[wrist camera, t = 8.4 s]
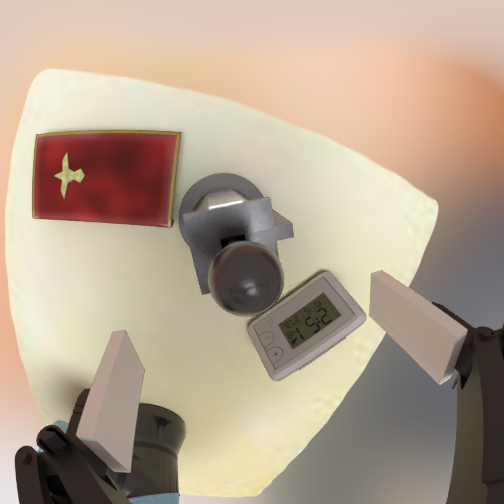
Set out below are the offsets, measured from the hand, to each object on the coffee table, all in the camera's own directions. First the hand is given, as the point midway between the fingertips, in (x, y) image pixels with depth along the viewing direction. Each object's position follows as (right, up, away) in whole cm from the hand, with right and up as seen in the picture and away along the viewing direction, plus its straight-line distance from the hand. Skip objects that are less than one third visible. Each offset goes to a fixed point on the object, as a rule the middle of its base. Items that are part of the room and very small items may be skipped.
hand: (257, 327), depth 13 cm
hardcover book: (-20, +14, +19) cm, 32 cm away
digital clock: (+6, -5, +31) cm, 32 cm away
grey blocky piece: (-4, +8, +23) cm, 25 cm away
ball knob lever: (-4, +7, +21) cm, 22 cm away
